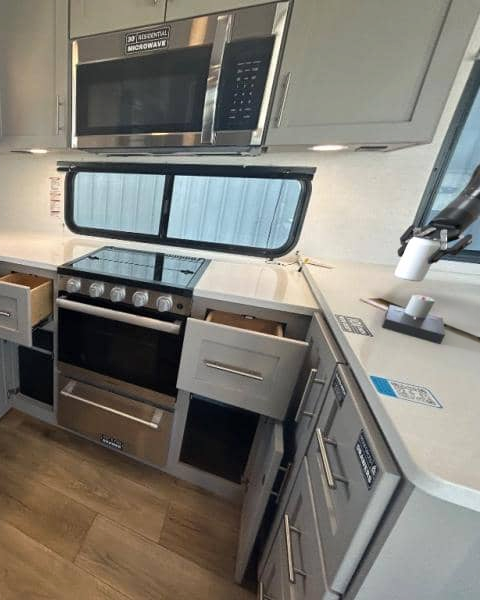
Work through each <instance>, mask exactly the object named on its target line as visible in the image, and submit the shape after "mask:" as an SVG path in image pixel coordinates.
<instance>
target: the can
mask: <svg viewBox="0 0 480 600" xmlns="http://www.w3.org/2000/svg"><path fill="white" fill-rule="evenodd" d="M411 238H412V239H411ZM411 238H410V239H411V240H410V241H409V243H408V245H407V247H406V249H405V251H404V254H403V256H402V257H400V260H399V262H398V265H397V267H396V269H395V271H394V276H395V277H396V278H399V279H401V280H405V281H410V282H422V281H424V279H425V278H426V275H427V274H428V272H429V270H430V267H431V266H432V264H429V263H428V259H429V258H430V257H431V256H432V255H433V254H434V253H435V252H436V251H437V250H440V241H441V240H440V239H437V238H434V239H435V240H434V239H429V238H431V237H425V236H415V235H413V236H412V237H411Z"/></svg>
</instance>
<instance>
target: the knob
mask: <svg viewBox="0 0 480 600" xmlns="http://www.w3.org/2000/svg"><path fill="white" fill-rule="evenodd" d="M435 302H436V300H435V299H434V298H432V297H429V296H425V295H421V294H412V296H411V298H410V300H409V302H408V303H407V306H406V307H405V308H406V310H405V313H406V314H408V315H411V316H414V317H418V318H426V317H427V315H428V314H429V313H430V312H431V310H432V308H433V306H434V304H435Z"/></svg>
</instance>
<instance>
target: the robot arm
mask: <svg viewBox="0 0 480 600" xmlns="http://www.w3.org/2000/svg"><path fill="white" fill-rule="evenodd" d="M479 217H480V163H479V164H478V165H477V166H475V168H474V170H473V171H472V173H471V175H470V178H469V180H468V182H467V184H466V186H465V187H464V188H463V190H462V191H461V192H460V193H459V194H458V195H457V196H456V197H455V198H454V199H453V200H451V201H450V202H448V203H447V204H446V205H445V206H444V207H443V208H442V209H441V210H440V211H439V212H438V213H437V214H435V216H434V217H433V218H432V219H431V220H430V221H429V222H428V224H426V225H425V226H422V227H416V225H415V224H412V225H411V224H410V225H409V227H408V228H407V229H406V230H405V231H404V233H402V235H401V236H400V237H399V242H400V245H401V246H400V247H399V248H398V249H397V257H400V258H402V256H403V254H404V251H405V249H406V247H407V245H408V243H409V241H410V240H411V239H412V238H413V237H414V236H425V237H431V238H429V239H434V238H437V239H440V240H441V241H440V248H439V250H437V251H436V252H435V253H434V254H433V255H432V256H431V257H430V258H429V259H428V263H429V264H431V265H433V264H434V263H435V264H436V263H438V262H439V261H440V260H441V259H442V258H443V257H444V256H446V255H450V256H453V257H455V256H457V255H458V254H459V253H461V252H462V251H463V250H464V249H466V248H468V246H469V245H471V244H472V243H473V234H472V233H471V234H470V233H468V234H463V233H464V232H466V230H467V229H468V228H469V227H470V226H471V225H472V224H474V222H476V221H477V220H478V219H479ZM434 240H435V239H434ZM457 240H458V241H457ZM455 241H457V242H455ZM452 242H455V243H454V244H453V245H452V246H451V247H448V243H452Z"/></svg>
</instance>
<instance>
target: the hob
mask: <svg viewBox="0 0 480 600" xmlns="http://www.w3.org/2000/svg"><path fill="white" fill-rule="evenodd" d="M405 308H406V307H404V308H401V307H397V306H393V305H389V307H388V309H387V311H385V315H384V319H383V321H382V326H381V328H383V329H386V330H389V331H392V332H395V333H399V334H403V335H407V336H411V337H414V338H418V339H420V340H425V341H428V342H431V343H435V344H438V345H440V344H441V343H442V341H443V340H444V338H445V336H446V333H445V324H444V318H443V317H440V316H437V315H432V314H429V313H428V315H427V317H426V318H418V317H414V316H411V315H408V314H406V313H405V310H406V309H405Z"/></svg>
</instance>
